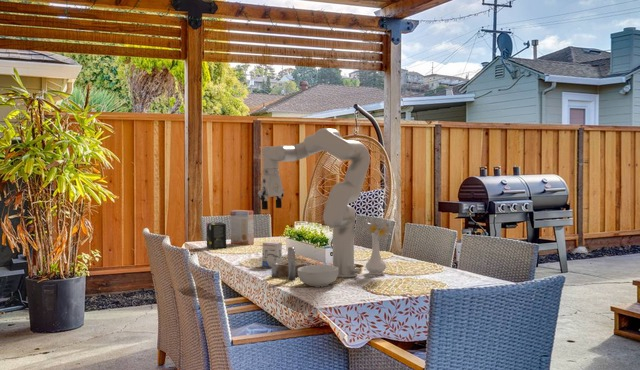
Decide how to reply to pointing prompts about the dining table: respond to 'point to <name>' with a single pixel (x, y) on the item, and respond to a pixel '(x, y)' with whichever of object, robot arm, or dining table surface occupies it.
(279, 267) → the walnut hole block
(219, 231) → the tampon box
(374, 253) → the flower vase
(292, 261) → the long steel pin
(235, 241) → the cracker box
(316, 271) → the cereal bowl
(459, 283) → the dining table surface
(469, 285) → the dining table surface
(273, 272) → the short steel pin
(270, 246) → the ink box
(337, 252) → the robot arm
